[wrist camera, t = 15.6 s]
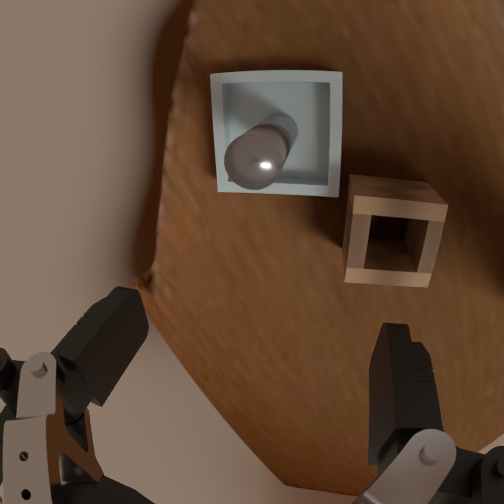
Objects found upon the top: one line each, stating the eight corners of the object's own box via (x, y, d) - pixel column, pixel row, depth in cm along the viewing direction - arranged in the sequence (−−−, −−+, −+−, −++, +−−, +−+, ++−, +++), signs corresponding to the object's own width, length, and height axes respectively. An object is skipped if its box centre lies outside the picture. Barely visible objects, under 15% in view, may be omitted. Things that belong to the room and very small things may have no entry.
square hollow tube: (427, 182, 26) (448, 205, 21) (413, 254, 30) (427, 287, 25) (348, 174, 28) (354, 195, 23) (342, 248, 32) (344, 282, 27)
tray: (340, 73, 23) (342, 71, 21) (337, 188, 29) (338, 197, 27) (218, 74, 26) (209, 74, 24) (225, 183, 31) (218, 191, 29)
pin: (297, 113, 26) (281, 134, 16) (298, 148, 27) (282, 191, 17) (262, 113, 26) (222, 134, 16) (263, 147, 28) (226, 189, 18)
